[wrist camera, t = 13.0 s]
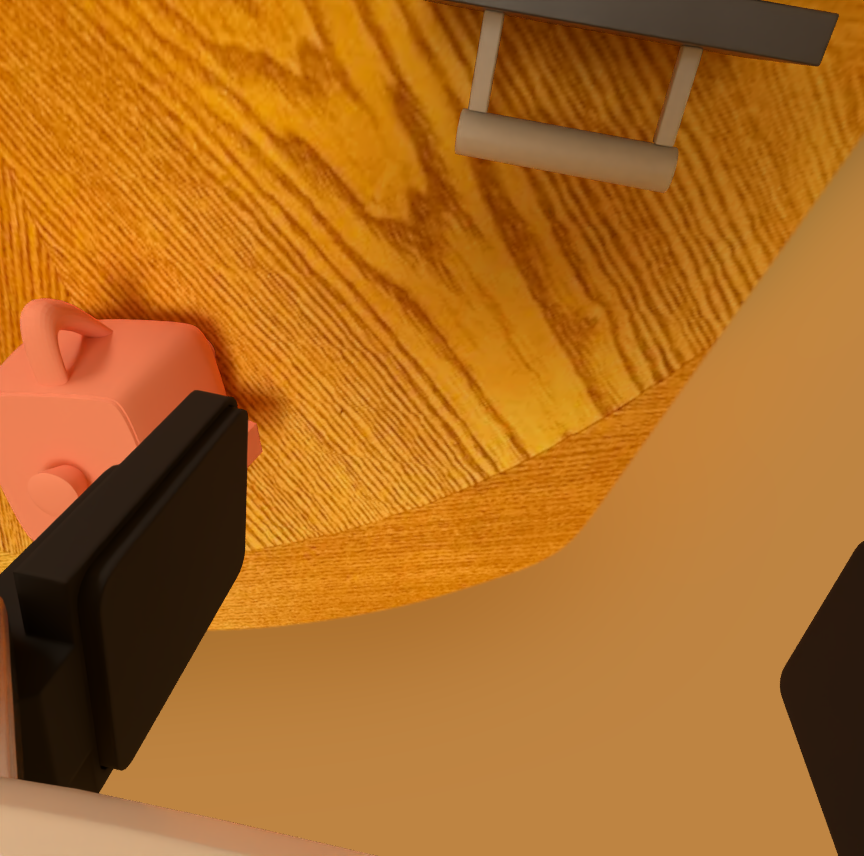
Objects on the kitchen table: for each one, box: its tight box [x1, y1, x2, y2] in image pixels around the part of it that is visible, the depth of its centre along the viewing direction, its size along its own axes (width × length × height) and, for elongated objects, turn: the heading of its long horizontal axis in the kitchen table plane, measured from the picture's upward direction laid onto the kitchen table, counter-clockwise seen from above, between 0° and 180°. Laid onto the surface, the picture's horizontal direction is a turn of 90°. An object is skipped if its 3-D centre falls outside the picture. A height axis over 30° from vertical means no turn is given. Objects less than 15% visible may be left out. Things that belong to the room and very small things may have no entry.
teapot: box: [0, 298, 262, 541], centre depth 33 cm, size 12×12×10 cm
